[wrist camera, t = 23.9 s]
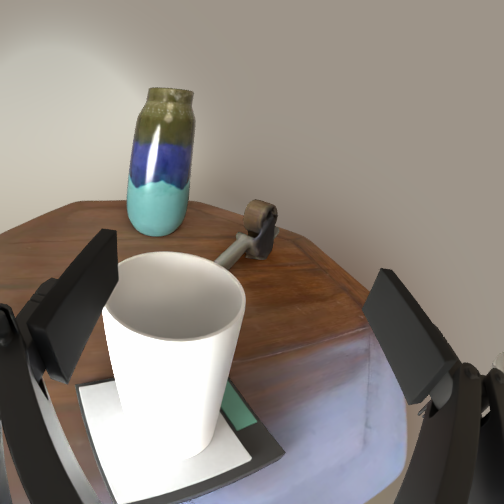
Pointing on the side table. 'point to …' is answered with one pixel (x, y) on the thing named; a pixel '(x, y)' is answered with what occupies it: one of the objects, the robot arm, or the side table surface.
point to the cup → (173, 347)
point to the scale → (165, 470)
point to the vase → (161, 162)
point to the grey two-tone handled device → (253, 234)
